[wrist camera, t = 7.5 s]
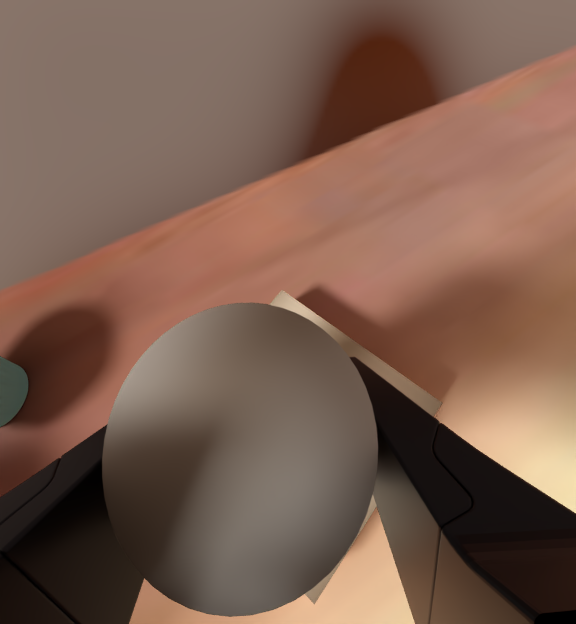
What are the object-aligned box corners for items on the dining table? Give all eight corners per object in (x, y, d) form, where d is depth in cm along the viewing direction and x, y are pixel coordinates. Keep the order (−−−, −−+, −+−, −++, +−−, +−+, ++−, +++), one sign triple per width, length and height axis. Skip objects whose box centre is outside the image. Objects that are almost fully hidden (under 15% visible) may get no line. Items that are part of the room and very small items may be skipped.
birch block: (423, 404, 17) (442, 402, 14) (316, 569, 15) (314, 604, 12) (287, 306, 21) (281, 289, 18) (184, 430, 19) (159, 433, 16)
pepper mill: (356, 388, 14) (414, 340, 5) (327, 497, 13) (331, 709, 4) (265, 357, 16) (176, 272, 6) (228, 453, 14) (41, 529, 5)
